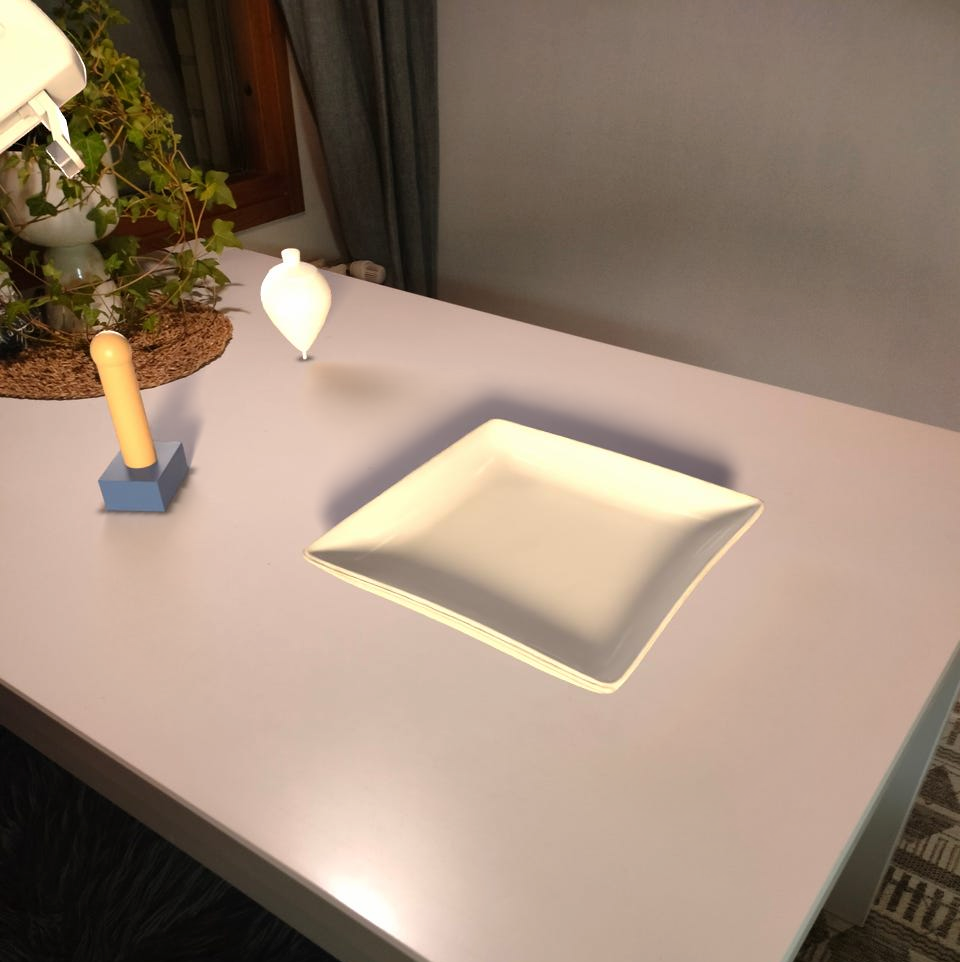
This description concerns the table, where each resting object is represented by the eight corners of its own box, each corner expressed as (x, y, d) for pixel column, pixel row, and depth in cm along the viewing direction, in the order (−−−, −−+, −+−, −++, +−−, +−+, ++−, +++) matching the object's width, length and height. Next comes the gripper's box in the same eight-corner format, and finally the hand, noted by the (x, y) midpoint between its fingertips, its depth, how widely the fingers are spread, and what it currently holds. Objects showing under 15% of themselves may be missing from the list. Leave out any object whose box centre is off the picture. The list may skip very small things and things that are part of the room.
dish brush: (106, 510, 80) (56, 349, 71) (134, 469, 86) (90, 315, 77) (165, 511, 80) (122, 350, 71) (189, 470, 86) (152, 315, 76)
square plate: (300, 590, 71) (293, 548, 69) (494, 448, 89) (494, 411, 86) (608, 729, 60) (613, 685, 57) (762, 534, 77) (772, 494, 74)
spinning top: (342, 369, 103) (330, 258, 95) (273, 376, 102) (255, 265, 94) (334, 342, 109) (322, 236, 101) (269, 349, 107) (252, 242, 99)
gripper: (-276, 116, 59) (-121, 288, 60) (-23, -76, 60) (122, 97, 61) (-213, 163, 65) (-75, 318, 66) (14, -12, 66) (145, 144, 68)
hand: (22, 210), depth 64 cm, fingers open, 8 cm apart
